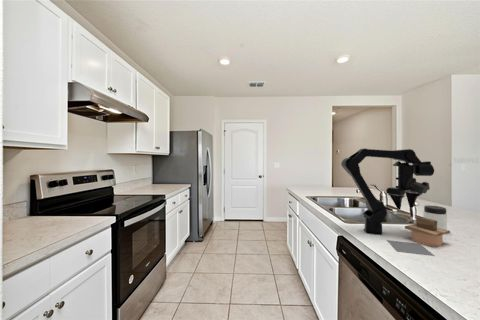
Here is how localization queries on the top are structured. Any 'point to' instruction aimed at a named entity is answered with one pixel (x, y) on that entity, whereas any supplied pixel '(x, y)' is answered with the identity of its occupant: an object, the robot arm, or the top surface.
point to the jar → (436, 215)
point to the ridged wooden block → (427, 227)
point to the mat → (409, 248)
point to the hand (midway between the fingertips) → (405, 208)
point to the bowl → (426, 239)
